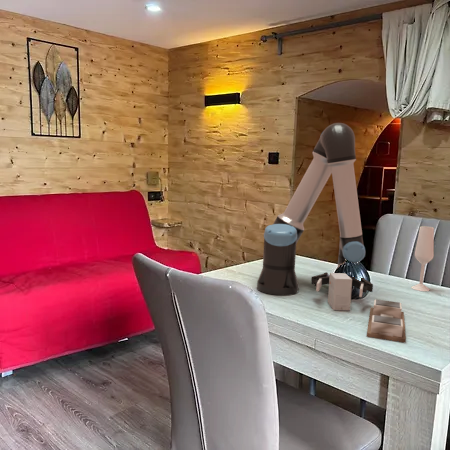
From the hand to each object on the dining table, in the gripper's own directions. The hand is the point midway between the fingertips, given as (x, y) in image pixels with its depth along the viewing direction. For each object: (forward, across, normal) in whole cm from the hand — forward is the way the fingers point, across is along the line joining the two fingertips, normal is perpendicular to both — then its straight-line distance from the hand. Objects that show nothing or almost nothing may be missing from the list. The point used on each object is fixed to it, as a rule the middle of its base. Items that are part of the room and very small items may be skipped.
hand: (338, 290), depth 145 cm
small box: (-3, 0, -7) cm, 8 cm away
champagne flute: (-40, -27, -7) cm, 49 cm away
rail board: (+8, -15, -6) cm, 18 cm away
